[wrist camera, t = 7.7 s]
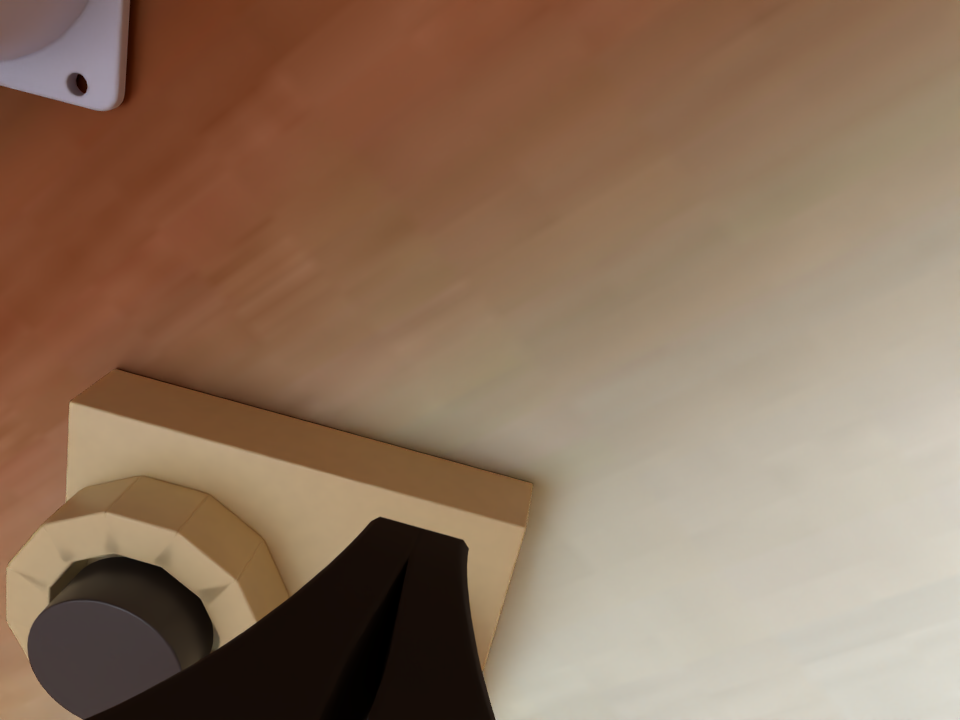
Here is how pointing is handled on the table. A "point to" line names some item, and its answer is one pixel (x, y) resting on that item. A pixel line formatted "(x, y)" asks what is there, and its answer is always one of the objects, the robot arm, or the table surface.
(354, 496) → the switch box
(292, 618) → the robot arm
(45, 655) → the button
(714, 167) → the table surface
